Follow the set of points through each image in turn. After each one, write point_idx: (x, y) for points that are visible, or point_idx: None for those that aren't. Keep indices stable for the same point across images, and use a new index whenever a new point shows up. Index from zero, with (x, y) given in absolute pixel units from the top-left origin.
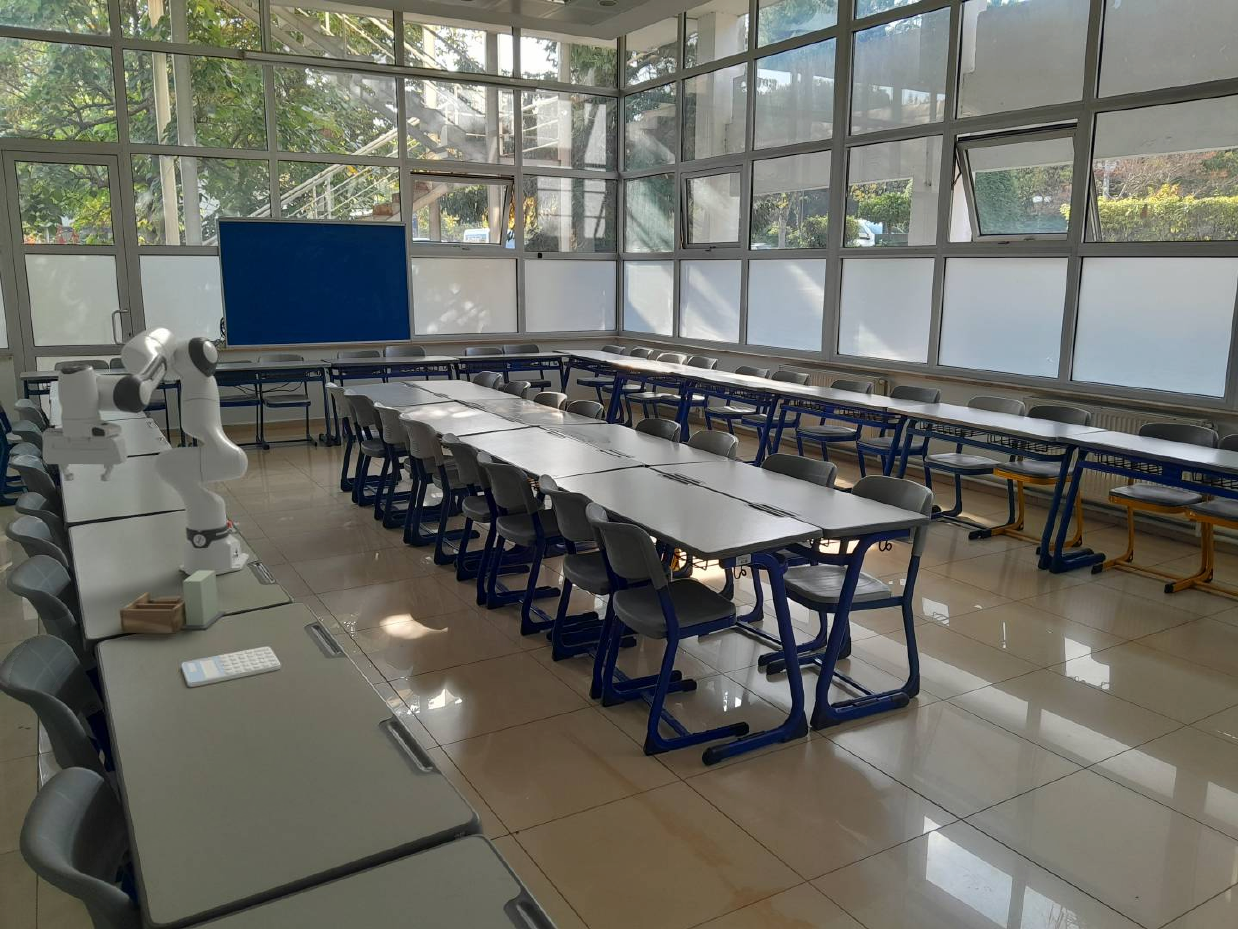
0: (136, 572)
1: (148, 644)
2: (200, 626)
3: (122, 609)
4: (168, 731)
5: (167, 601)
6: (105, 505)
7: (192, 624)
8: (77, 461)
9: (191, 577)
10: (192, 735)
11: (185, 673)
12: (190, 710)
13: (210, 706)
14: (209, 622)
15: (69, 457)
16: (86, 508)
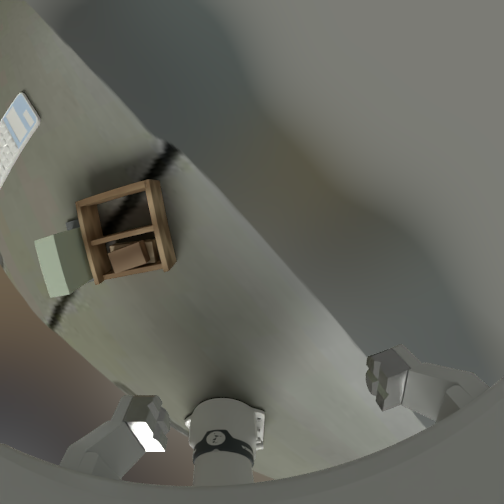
0: (315, 391)
1: (100, 156)
2: (73, 224)
3: (146, 183)
4: (20, 41)
5: (118, 249)
6: None
7: None
8: (332, 489)
9: (54, 256)
10: (7, 47)
11: (27, 102)
12: (14, 67)
13: (5, 78)
14: None
15: (441, 486)
16: None
